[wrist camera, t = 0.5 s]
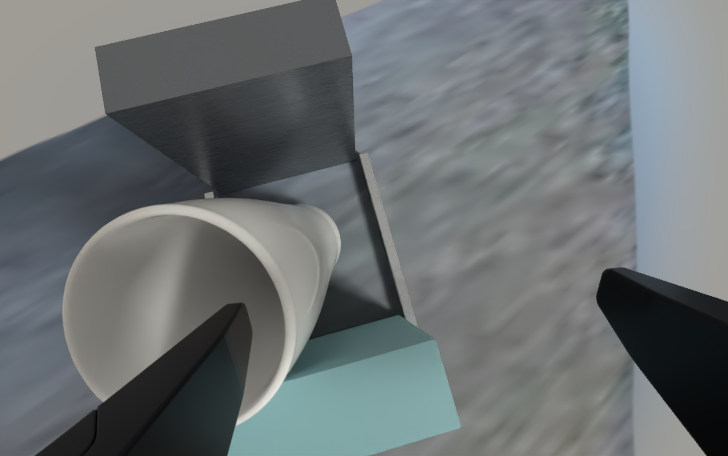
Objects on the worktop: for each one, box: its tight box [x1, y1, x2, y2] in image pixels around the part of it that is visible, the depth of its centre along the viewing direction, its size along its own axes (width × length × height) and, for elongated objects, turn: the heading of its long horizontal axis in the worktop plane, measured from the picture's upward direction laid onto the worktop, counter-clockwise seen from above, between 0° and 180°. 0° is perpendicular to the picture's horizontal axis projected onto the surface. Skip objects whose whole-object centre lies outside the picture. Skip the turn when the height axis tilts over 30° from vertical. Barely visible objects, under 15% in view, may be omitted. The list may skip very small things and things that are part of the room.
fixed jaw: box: [95, 0, 417, 326], centre depth 19 cm, size 20×12×12 cm, turn 15°
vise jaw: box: [227, 315, 461, 456], centre depth 18 cm, size 3×10×12 cm, turn 105°
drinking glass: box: [62, 198, 341, 426], centre depth 17 cm, size 7×7×15 cm
